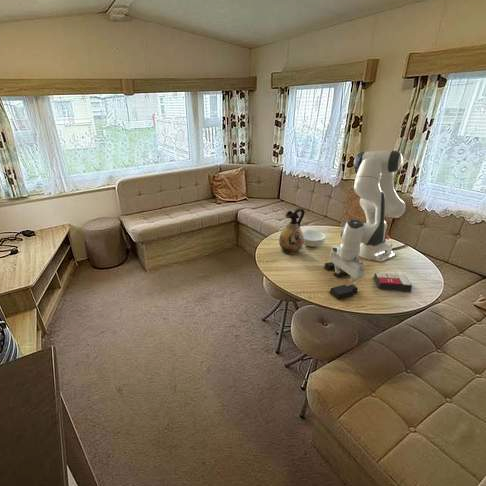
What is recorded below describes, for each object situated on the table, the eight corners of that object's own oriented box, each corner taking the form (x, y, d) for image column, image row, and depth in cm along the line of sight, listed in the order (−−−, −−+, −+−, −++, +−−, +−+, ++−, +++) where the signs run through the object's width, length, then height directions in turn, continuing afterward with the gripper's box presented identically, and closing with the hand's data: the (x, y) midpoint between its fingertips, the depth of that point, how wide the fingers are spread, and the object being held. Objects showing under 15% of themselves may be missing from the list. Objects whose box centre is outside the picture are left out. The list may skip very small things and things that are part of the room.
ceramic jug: (285, 258, 188) (289, 213, 174) (274, 247, 201) (277, 205, 188) (309, 254, 192) (315, 210, 178) (296, 244, 205) (301, 202, 192)
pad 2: (350, 287, 158) (351, 283, 157) (358, 294, 153) (359, 289, 151) (329, 292, 154) (330, 287, 153) (337, 299, 149) (338, 294, 148)
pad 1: (344, 263, 181) (344, 259, 179) (358, 273, 170) (359, 268, 169) (324, 267, 177) (325, 263, 175) (338, 277, 167) (339, 273, 165)
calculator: (374, 271, 164) (405, 273, 161) (373, 278, 166) (403, 280, 163) (380, 282, 155) (412, 284, 151) (378, 289, 157) (410, 291, 153)
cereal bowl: (303, 237, 215) (304, 228, 212) (327, 242, 206) (328, 233, 203) (294, 245, 203) (295, 236, 200) (319, 252, 194) (320, 242, 191)
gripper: (370, 262, 134) (364, 287, 140) (340, 243, 152) (335, 267, 158) (359, 264, 133) (353, 290, 139) (329, 245, 150) (325, 269, 156)
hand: (343, 277), depth 148 cm, fingers open, 8 cm apart
